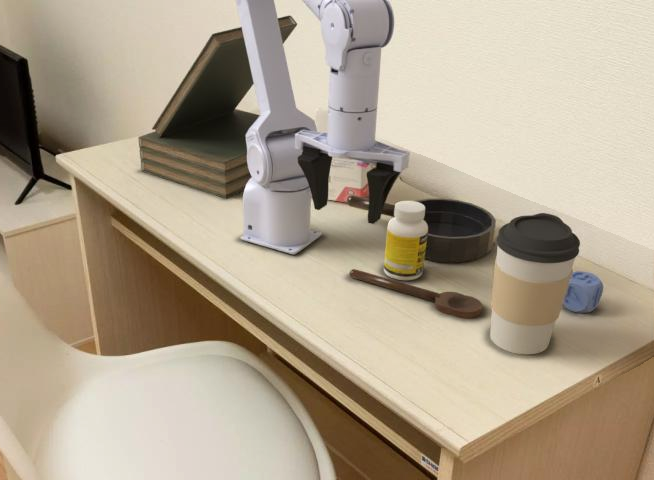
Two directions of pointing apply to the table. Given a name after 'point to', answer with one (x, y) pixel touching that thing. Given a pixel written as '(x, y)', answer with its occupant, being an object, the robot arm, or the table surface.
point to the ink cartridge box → (344, 170)
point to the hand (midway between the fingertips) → (347, 213)
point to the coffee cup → (530, 281)
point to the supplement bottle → (406, 241)
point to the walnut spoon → (428, 295)
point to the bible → (208, 120)
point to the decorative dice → (583, 292)
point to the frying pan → (457, 230)
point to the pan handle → (364, 204)
